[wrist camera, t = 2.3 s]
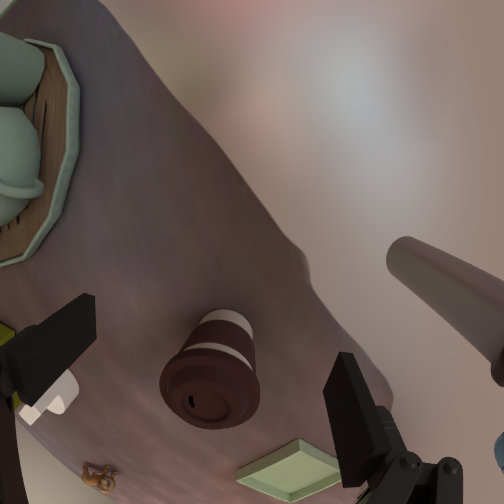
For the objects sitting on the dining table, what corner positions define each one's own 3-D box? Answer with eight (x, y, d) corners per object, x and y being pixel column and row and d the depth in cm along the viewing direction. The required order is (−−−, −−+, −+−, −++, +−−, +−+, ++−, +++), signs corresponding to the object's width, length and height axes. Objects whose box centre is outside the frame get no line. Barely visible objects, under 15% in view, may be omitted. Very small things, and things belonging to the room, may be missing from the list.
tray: (348, 465, 45) (351, 475, 42) (289, 493, 48) (290, 503, 45) (298, 438, 43) (299, 450, 40) (236, 469, 46) (235, 481, 43)
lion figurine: (113, 461, 49) (100, 487, 41) (127, 474, 50) (116, 499, 42) (80, 461, 52) (68, 483, 43) (93, 473, 53) (82, 494, 44)
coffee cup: (277, 323, 38) (281, 400, 23) (237, 372, 40) (225, 450, 25) (212, 284, 37) (179, 346, 22) (178, 338, 39) (140, 408, 24)
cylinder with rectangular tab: (53, 352, 42) (16, 386, 30) (86, 387, 43) (55, 427, 32) (39, 370, 44) (7, 401, 32) (69, 401, 45) (41, 437, 33)
